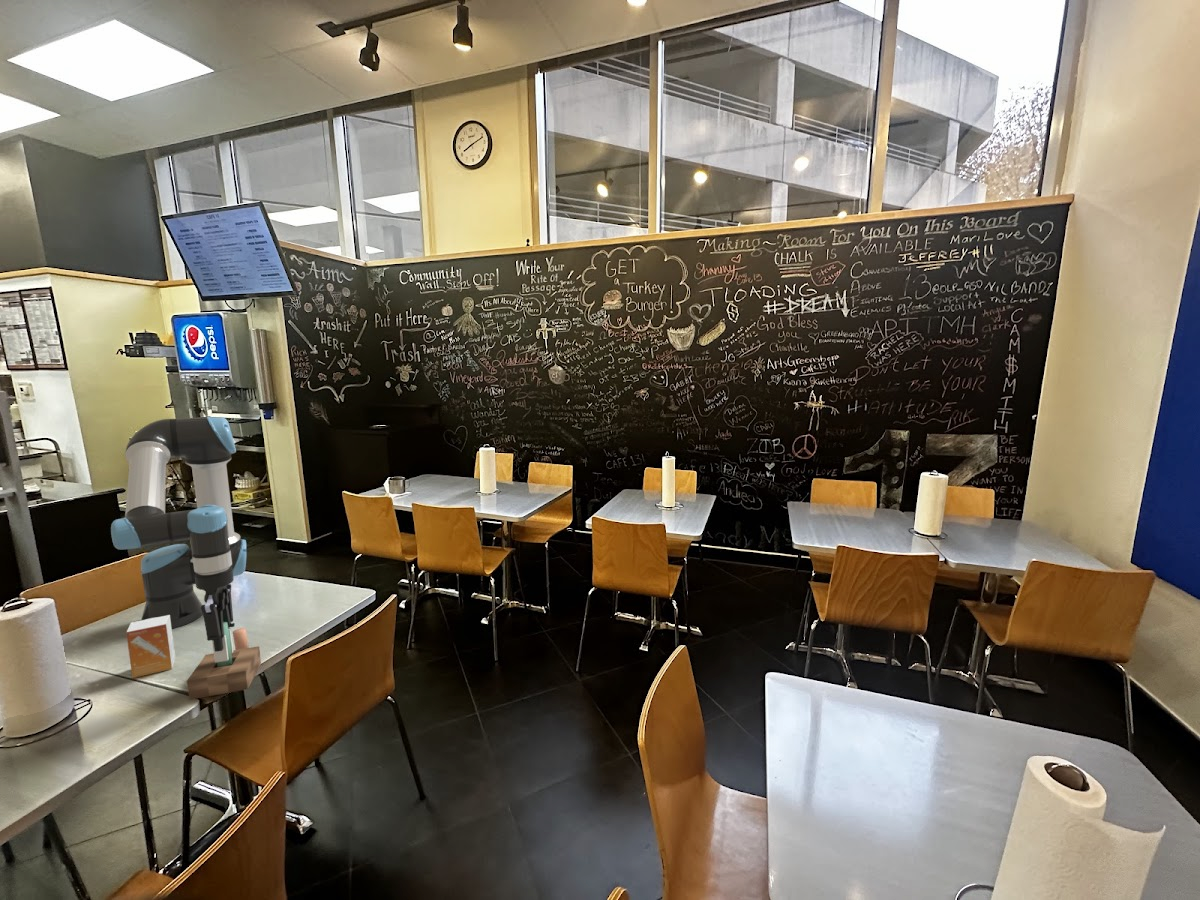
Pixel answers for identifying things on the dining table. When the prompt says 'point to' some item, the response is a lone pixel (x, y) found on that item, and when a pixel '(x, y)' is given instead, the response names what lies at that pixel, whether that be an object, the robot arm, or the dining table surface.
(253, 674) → the collar block
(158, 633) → the small box
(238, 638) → the short dowel
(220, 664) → the long dowel
